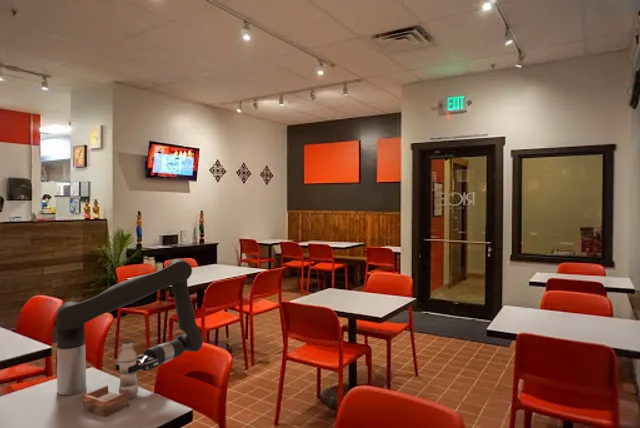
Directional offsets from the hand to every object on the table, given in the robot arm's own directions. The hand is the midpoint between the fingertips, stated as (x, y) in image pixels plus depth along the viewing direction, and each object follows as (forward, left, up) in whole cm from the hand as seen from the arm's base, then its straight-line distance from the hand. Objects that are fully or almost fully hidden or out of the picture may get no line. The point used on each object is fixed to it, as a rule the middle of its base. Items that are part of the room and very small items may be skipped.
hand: (122, 369), depth 157 cm
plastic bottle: (0, +2, -11) cm, 11 cm away
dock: (0, -7, -11) cm, 13 cm away
